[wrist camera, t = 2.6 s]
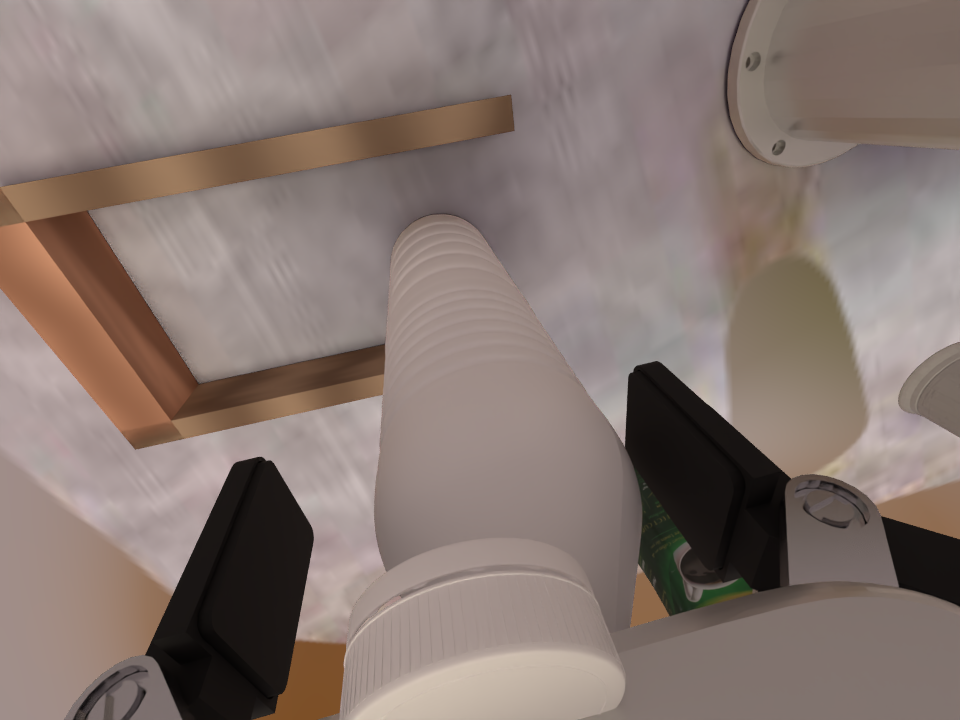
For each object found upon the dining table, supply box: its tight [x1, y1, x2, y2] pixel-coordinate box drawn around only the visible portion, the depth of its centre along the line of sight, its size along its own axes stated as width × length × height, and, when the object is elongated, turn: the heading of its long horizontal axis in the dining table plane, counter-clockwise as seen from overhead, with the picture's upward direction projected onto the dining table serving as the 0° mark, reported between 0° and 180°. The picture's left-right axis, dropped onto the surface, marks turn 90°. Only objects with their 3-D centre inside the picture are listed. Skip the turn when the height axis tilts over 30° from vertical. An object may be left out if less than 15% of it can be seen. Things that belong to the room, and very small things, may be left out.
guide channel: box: [0, 95, 514, 450], centre depth 24 cm, size 26×15×4 cm, turn 98°
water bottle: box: [339, 214, 642, 720], centre depth 16 cm, size 9×6×25 cm
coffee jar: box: [633, 466, 753, 616], centre depth 34 cm, size 10×8×19 cm
